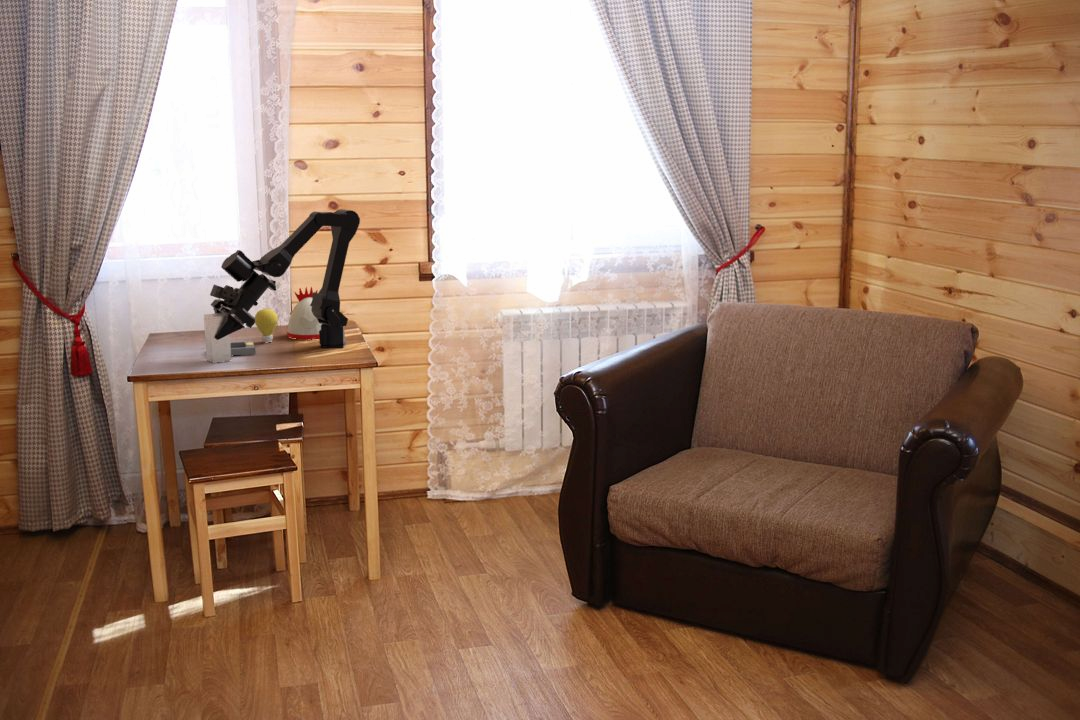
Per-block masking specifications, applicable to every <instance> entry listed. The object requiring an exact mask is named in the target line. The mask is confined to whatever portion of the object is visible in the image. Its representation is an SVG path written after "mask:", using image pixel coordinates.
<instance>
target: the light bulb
mask: <svg viewBox="0 0 1080 720" xmlns="http://www.w3.org/2000/svg"><path fill="white" fill-rule="evenodd" d="M254 318H255V324H254V325H255V326H256V328H257V329H258V330H259V332H260V333H261V334H262V335H261V340H263V341H262V342H271V343H272V340H273V338H274V335H273V332H274V331H275V329H276V328H277V327H276V326H277V325H278V323H279V317H278V315H277V312H275V311H274V310H273V309H270V308H262V309H260V310H259V311H257V312H256V314H255V316H254Z"/></svg>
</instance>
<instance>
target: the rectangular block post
mask: <svg viewBox="0 0 1080 720" xmlns="http://www.w3.org/2000/svg"><path fill="white" fill-rule="evenodd" d="M224 321H225V314H224V313H215V312H214V313H207V314H203V322H204V338H205V353H206V361H207V360H208V361H207V362H209V361H210V362H209V363H211V362H212V364H218V363H217V362H221V363H224V362H223V361H229V362H231V361H230V360H232V356H231V345H230V342H231V334H229V335H227V336H225V337H223V338H221V339H219V340H217V339H215V336H216V334H217V332H218V331H219V329H220V327H221V326H222V324H223V323H224Z"/></svg>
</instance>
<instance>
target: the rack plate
mask: <svg viewBox="0 0 1080 720" xmlns="http://www.w3.org/2000/svg"><path fill="white" fill-rule="evenodd" d="M230 345H231V357H233V356H232V355H242V356H255V355H254V354H256V346H255V344H254V341H253V340H247V341H246V340H243V341H230Z"/></svg>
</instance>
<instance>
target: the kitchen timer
mask: <svg viewBox="0 0 1080 720" xmlns="http://www.w3.org/2000/svg"><path fill="white" fill-rule="evenodd" d="M298 289H299V292H298V293H299V294H298V293H297V292H296V291H294V295H295V297H296V298H297V300H298V302H297V303H296V304H295V306H294V308H293V309H292V310H291V311H290V312H289V320H288V324H287V331H286V333H287V335H286V336H288V337H291V338H296V339H307V340H306V341H309V340H308V339H311V340H310V341H313V340H312V339H319V331H320V329H321V325H322V324H320V323H319V322H318V319H317V318H316V317H315V316H314V315H313V313H312V311H311V309H312V306H310V304H311V302H312V298H313V293H314V292H315V293H318V289H316V290H315V291H313V287H312V286H310V290H309V291H308V287H307V286H306V287H305V288H304V289H305V291H304V293H303V291H302V288H301V287H299V288H298ZM288 337H287V338H288Z"/></svg>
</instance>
